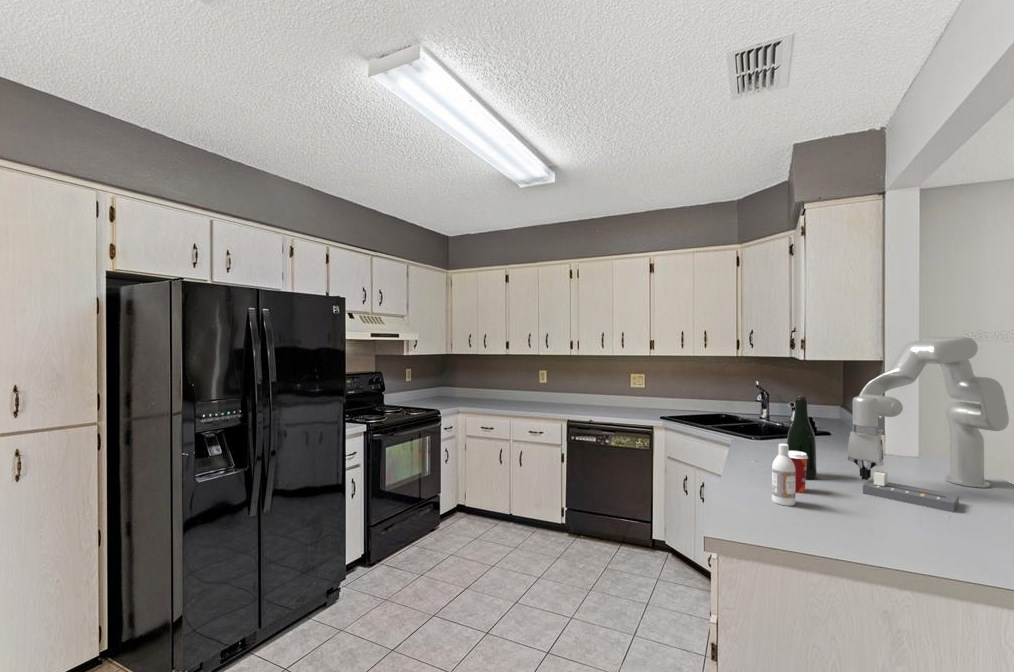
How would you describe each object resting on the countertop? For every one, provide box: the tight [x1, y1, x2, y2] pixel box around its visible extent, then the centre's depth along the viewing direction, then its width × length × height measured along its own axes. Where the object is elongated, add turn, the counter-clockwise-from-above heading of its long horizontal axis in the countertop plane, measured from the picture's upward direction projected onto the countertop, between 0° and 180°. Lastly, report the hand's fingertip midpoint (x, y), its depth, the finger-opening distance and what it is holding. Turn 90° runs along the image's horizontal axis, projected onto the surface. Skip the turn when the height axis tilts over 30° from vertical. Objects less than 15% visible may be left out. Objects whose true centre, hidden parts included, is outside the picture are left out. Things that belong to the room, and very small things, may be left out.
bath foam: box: [771, 443, 796, 507], centre depth 159 cm, size 7×7×20 cm
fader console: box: [862, 478, 960, 513], centre depth 163 cm, size 12×24×3 cm, turn 40°
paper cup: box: [788, 451, 808, 494], centre depth 172 cm, size 8×8×14 cm
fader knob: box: [873, 470, 888, 486], centre depth 169 cm, size 5×3×4 cm, turn 130°
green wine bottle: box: [786, 395, 818, 480], centre depth 190 cm, size 10×10×33 cm
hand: (865, 478), depth 173 cm, fingers closed
